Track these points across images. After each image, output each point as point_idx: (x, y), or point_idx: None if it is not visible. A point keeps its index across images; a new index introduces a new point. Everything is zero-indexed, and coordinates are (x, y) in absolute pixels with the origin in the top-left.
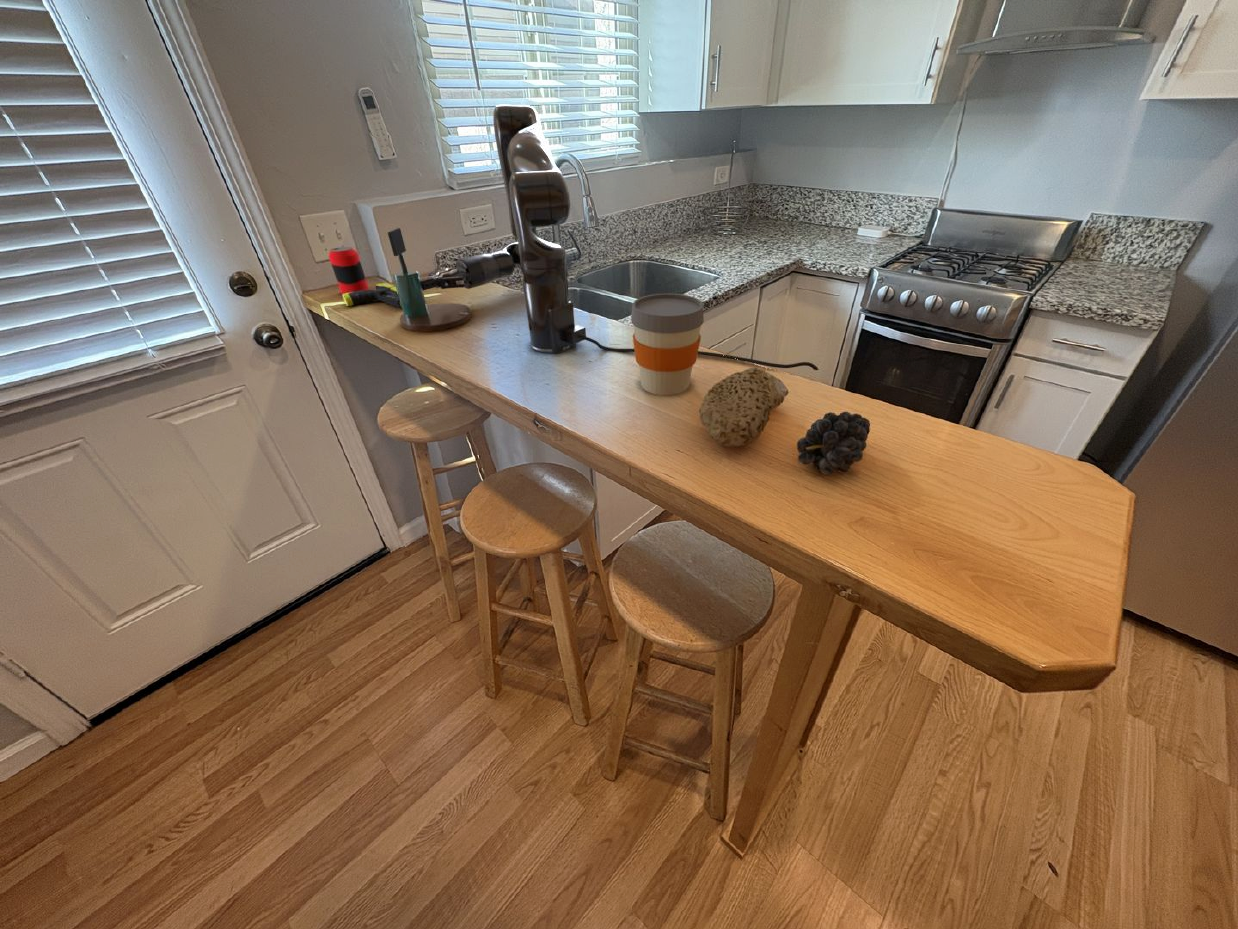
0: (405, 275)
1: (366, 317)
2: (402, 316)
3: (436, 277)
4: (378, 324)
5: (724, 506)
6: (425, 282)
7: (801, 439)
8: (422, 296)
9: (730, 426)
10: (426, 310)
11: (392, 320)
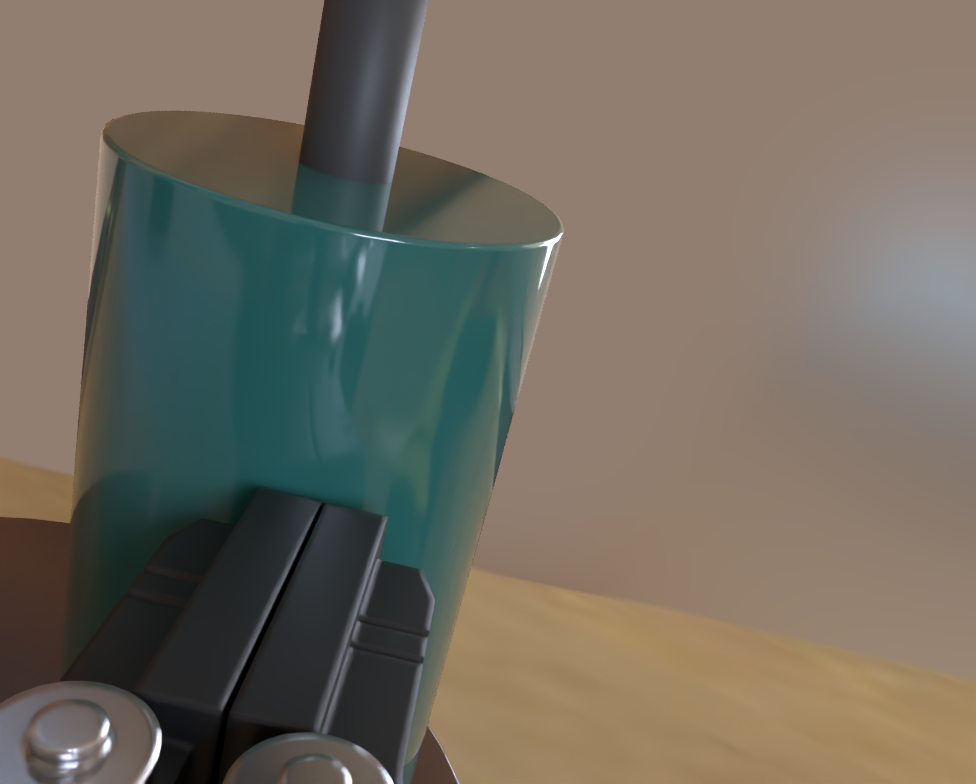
0: (182, 114)
1: (822, 710)
2: None
3: (15, 763)
4: (532, 632)
5: None
6: (187, 567)
7: None
8: (73, 561)
9: None
10: None
11: (532, 736)
